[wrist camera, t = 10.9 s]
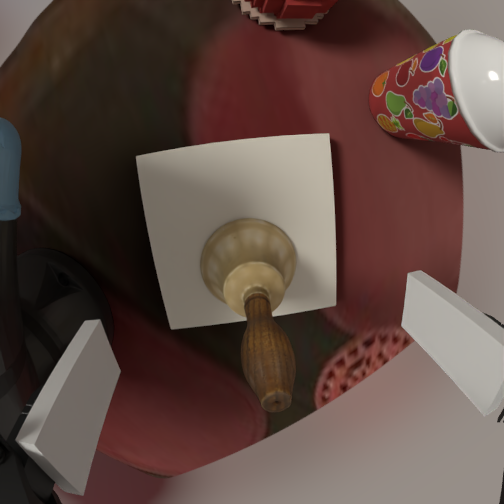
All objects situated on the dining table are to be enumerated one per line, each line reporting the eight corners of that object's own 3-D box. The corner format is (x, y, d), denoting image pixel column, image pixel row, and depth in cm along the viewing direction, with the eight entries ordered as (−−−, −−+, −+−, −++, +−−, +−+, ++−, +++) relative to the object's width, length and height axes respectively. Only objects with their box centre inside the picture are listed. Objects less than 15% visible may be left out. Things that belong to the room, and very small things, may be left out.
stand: (173, 319, 29) (171, 329, 27) (141, 156, 24) (135, 156, 22) (329, 296, 30) (335, 305, 28) (321, 134, 25) (329, 133, 23)
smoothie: (434, 130, 26) (597, 142, 7) (377, 158, 26) (563, 189, 7) (402, 59, 23) (558, 12, 4) (340, 80, 24) (509, 6, 5)
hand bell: (247, 323, 28) (272, 470, 13) (180, 265, 26) (138, 401, 10) (314, 264, 27) (406, 381, 12) (250, 196, 24) (298, 264, 9)
